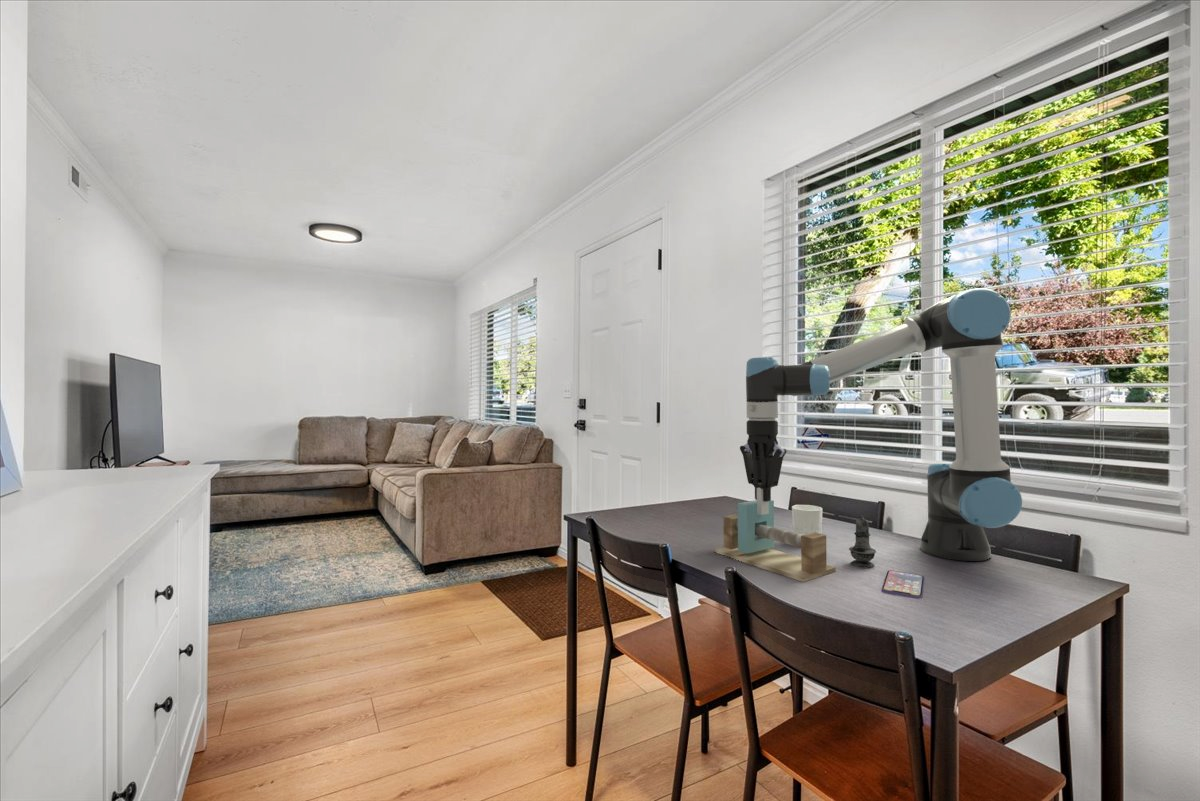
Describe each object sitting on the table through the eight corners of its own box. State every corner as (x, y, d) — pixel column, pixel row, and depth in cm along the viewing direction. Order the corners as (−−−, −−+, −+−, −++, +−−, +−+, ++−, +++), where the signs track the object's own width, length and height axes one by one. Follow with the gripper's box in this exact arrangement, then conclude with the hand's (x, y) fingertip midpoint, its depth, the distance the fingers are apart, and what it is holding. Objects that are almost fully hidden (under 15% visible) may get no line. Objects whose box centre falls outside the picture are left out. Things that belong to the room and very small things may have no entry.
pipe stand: (835, 571, 126) (835, 532, 126) (803, 581, 119) (802, 540, 119) (745, 545, 148) (745, 512, 148) (714, 552, 142) (713, 518, 142)
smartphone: (924, 579, 121) (922, 601, 109) (887, 573, 125) (880, 593, 112) (924, 575, 121) (922, 596, 109) (887, 569, 125) (880, 589, 112)
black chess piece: (870, 561, 133) (870, 512, 133) (880, 568, 128) (880, 517, 128) (845, 560, 134) (845, 512, 134) (854, 568, 128) (853, 517, 128)
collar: (774, 547, 139) (773, 500, 139) (747, 553, 134) (746, 505, 134) (764, 544, 142) (764, 498, 142) (738, 551, 136) (737, 503, 136)
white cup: (786, 541, 153) (786, 505, 153) (812, 539, 154) (812, 504, 154) (802, 548, 145) (801, 511, 145) (828, 546, 146) (828, 509, 146)
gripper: (731, 419, 139) (732, 511, 139) (773, 420, 128) (774, 520, 128) (751, 418, 143) (752, 507, 143) (793, 419, 132) (794, 516, 132)
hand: (762, 513), depth 136 cm, fingers closed
